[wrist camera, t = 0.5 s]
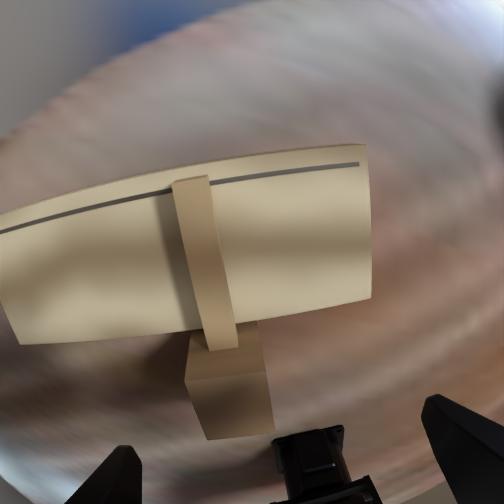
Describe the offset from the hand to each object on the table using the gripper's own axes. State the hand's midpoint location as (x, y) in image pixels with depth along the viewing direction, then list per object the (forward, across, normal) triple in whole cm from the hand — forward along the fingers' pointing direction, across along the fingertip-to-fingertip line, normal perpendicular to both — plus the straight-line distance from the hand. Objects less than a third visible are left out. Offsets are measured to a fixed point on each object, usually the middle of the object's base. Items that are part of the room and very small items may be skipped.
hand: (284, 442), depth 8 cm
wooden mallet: (+12, +2, +5) cm, 14 cm away
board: (+12, +5, -3) cm, 14 cm away
